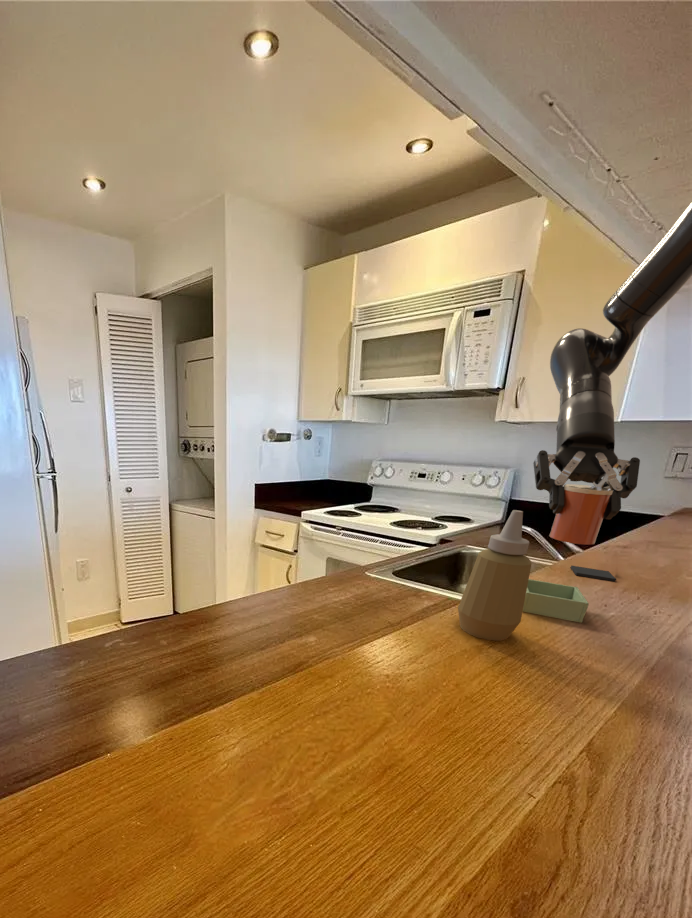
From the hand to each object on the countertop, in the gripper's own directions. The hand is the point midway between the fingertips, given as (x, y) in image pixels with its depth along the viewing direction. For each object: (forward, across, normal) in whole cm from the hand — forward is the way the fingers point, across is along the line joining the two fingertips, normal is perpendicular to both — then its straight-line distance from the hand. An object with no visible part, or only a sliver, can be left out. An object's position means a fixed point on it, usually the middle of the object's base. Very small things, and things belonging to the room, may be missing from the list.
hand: (584, 513), depth 71 cm
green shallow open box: (+11, -1, +12) cm, 17 cm away
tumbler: (+2, 0, +4) cm, 5 cm away
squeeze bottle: (+22, -12, +2) cm, 25 cm away
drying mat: (-10, +15, +34) cm, 39 cm away
